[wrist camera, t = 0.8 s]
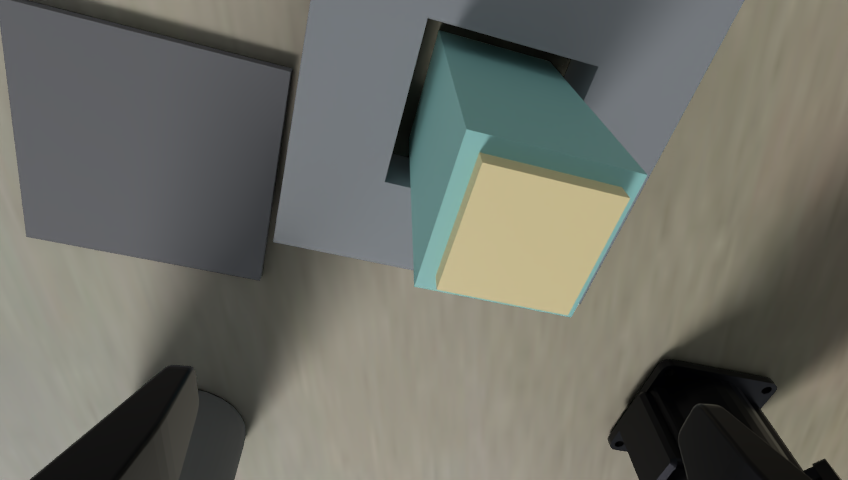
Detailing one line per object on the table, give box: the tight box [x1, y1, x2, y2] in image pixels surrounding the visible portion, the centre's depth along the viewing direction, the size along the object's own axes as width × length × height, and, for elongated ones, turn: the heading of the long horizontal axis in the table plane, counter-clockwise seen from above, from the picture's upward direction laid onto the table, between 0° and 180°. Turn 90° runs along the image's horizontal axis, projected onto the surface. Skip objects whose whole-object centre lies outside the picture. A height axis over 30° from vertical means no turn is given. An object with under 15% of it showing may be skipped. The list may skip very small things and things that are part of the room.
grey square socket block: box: [273, 0, 744, 304], centre depth 19 cm, size 12×12×2 cm
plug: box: [409, 30, 647, 317], centre depth 16 cm, size 4×4×10 cm
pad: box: [0, 0, 292, 281], centre depth 20 cm, size 9×9×1 cm
